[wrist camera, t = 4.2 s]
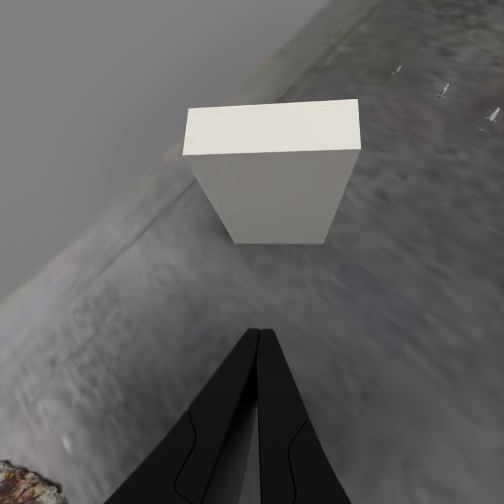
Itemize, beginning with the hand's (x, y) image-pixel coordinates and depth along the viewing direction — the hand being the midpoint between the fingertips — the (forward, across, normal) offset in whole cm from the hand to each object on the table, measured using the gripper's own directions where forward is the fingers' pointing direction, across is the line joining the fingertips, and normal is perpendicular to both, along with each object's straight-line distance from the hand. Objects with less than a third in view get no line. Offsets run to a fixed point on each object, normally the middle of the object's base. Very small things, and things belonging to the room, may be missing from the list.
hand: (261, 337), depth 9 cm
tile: (+14, 0, +3) cm, 14 cm away
